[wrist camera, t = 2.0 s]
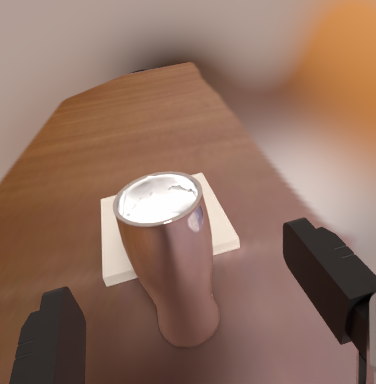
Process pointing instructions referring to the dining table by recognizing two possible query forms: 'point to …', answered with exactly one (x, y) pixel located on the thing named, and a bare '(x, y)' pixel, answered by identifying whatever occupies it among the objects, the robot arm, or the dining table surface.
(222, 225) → the ceramic tile
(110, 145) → the dining table surface
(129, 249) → the shiny silver metal cup
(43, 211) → the dining table surface
